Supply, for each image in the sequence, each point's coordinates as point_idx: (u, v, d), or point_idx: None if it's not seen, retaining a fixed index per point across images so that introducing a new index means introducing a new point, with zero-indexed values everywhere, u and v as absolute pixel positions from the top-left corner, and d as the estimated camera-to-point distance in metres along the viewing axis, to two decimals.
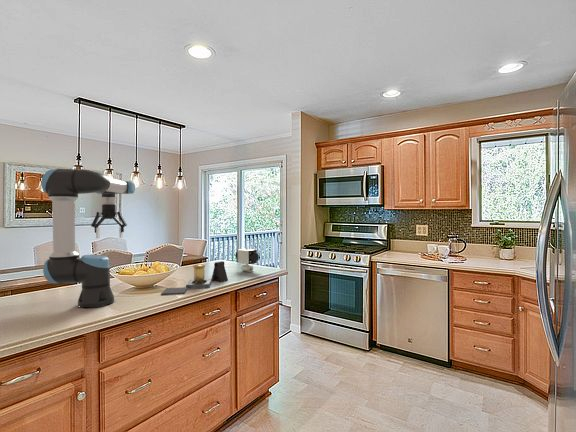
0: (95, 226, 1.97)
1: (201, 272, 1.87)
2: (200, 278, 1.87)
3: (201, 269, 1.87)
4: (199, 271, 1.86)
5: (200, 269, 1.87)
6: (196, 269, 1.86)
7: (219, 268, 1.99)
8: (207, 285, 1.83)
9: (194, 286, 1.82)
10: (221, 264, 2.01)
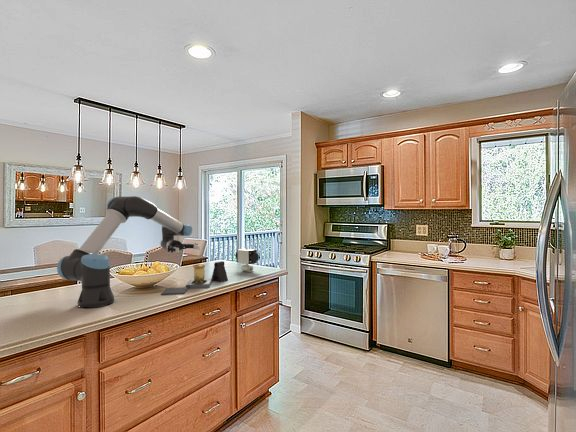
0: (172, 247, 1.96)
1: (201, 272, 1.87)
2: (200, 278, 1.87)
3: (201, 269, 1.87)
4: (199, 271, 1.86)
5: (200, 269, 1.87)
6: (196, 269, 1.86)
7: (219, 268, 1.99)
8: (207, 285, 1.83)
9: (194, 286, 1.82)
10: (221, 264, 2.01)
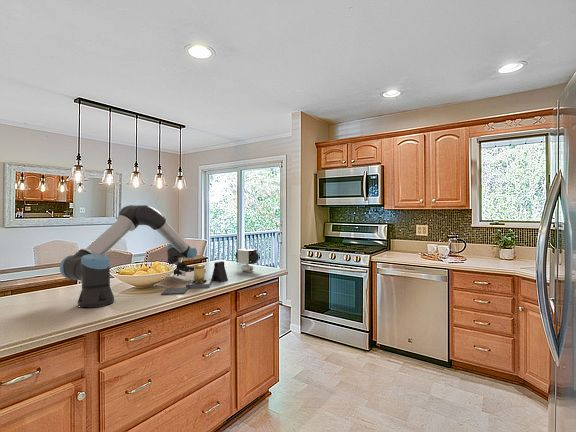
0: (178, 270, 1.94)
1: (201, 272, 1.87)
2: (200, 278, 1.87)
3: (201, 269, 1.87)
4: (199, 271, 1.87)
5: (200, 269, 1.87)
6: (196, 269, 1.86)
7: (219, 268, 1.99)
8: (207, 285, 1.83)
9: (194, 286, 1.82)
10: (221, 264, 2.01)
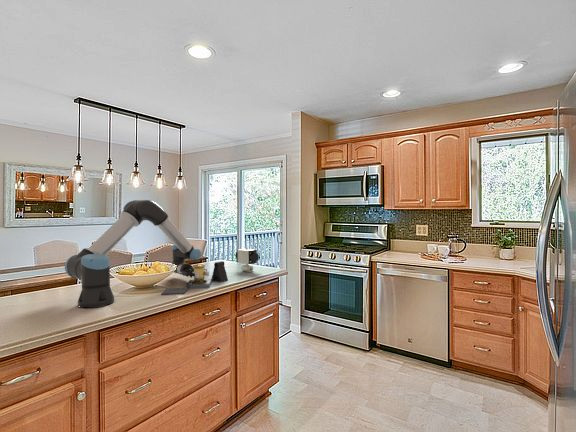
0: (190, 271, 1.88)
1: (201, 272, 1.87)
2: (200, 278, 1.87)
3: (201, 269, 1.87)
4: (199, 271, 1.86)
5: (200, 269, 1.87)
6: (196, 269, 1.86)
7: (219, 268, 1.99)
8: (207, 285, 1.83)
9: (194, 286, 1.82)
10: (221, 264, 2.01)
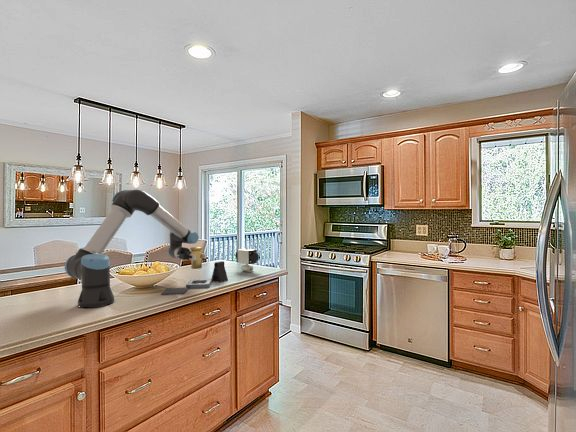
0: (188, 254, 1.86)
1: (198, 254, 1.85)
2: (197, 260, 1.85)
3: (198, 251, 1.85)
4: (196, 253, 1.85)
5: (197, 251, 1.85)
6: (193, 251, 1.85)
7: (219, 268, 1.99)
8: (207, 285, 1.83)
9: (194, 286, 1.82)
10: (221, 264, 2.01)
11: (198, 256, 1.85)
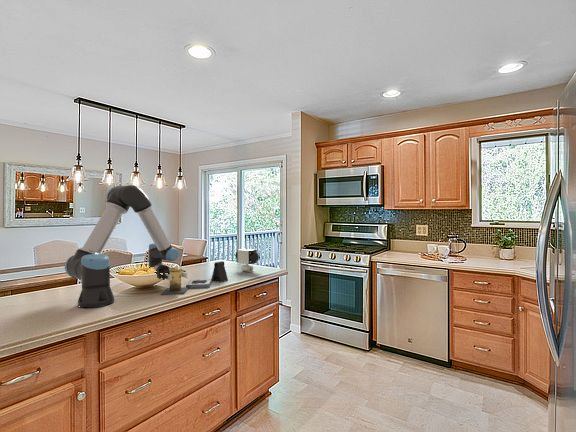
0: (163, 273, 1.73)
1: (177, 276, 1.72)
2: (176, 282, 1.72)
3: (177, 273, 1.72)
4: (175, 275, 1.72)
5: (176, 273, 1.72)
6: (172, 273, 1.72)
7: (219, 268, 1.99)
8: (207, 285, 1.83)
9: (194, 286, 1.82)
10: (221, 264, 2.01)
11: (177, 278, 1.72)
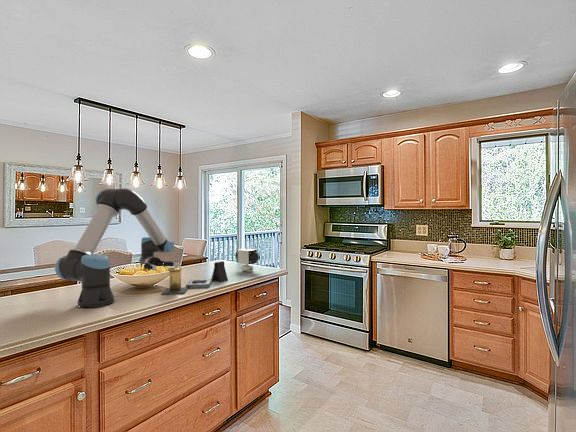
0: (149, 264, 1.82)
1: (177, 276, 1.72)
2: (176, 282, 1.72)
3: (177, 273, 1.72)
4: (175, 275, 1.72)
5: (176, 273, 1.72)
6: (171, 273, 1.72)
7: (219, 268, 1.99)
8: (207, 285, 1.83)
9: (194, 286, 1.82)
10: (221, 264, 2.01)
11: (177, 278, 1.72)
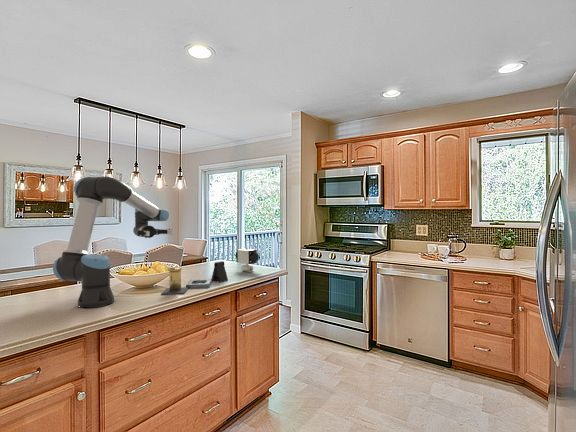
0: (142, 230, 1.81)
1: (177, 276, 1.72)
2: (176, 282, 1.72)
3: (177, 273, 1.72)
4: (175, 275, 1.72)
5: (176, 273, 1.72)
6: (171, 273, 1.72)
7: (219, 268, 1.99)
8: (207, 285, 1.83)
9: (194, 286, 1.82)
10: (221, 264, 2.01)
11: (176, 278, 1.72)
